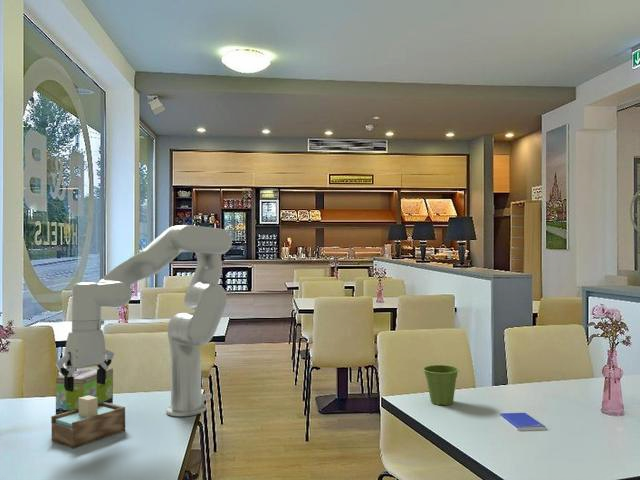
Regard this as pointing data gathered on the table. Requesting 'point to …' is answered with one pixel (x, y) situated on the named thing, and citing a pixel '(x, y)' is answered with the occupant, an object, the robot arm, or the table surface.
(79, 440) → the walnut box
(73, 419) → the cover plate
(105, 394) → the tea box
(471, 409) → the table surface
